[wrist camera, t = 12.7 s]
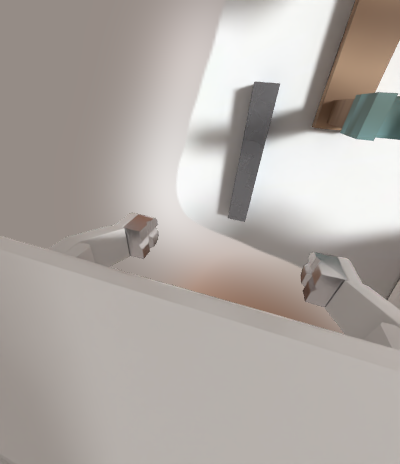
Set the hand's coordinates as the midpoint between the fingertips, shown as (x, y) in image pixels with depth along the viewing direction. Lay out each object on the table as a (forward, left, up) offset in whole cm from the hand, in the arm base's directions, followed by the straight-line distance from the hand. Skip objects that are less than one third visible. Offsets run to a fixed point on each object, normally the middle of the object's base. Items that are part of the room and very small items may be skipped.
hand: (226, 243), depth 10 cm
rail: (0, 0, -19) cm, 19 cm away
